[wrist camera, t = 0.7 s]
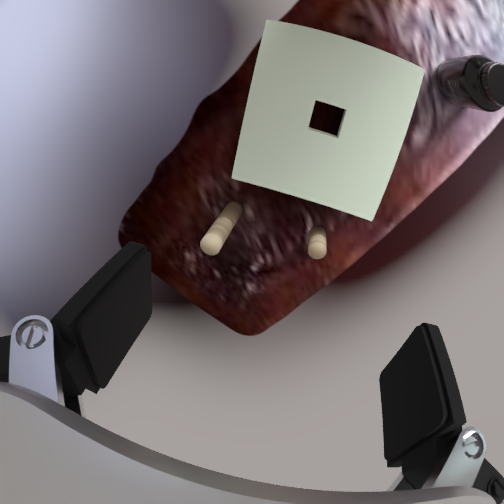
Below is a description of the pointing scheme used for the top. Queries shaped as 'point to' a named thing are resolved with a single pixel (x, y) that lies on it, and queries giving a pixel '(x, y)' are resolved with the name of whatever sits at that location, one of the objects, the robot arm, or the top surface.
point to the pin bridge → (318, 142)
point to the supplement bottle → (472, 82)
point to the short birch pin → (317, 242)
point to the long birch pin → (221, 228)
